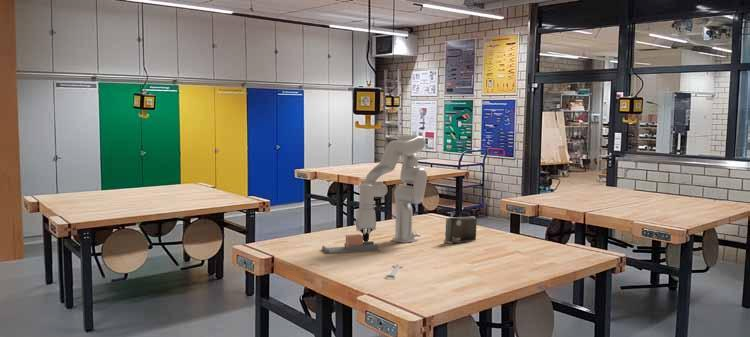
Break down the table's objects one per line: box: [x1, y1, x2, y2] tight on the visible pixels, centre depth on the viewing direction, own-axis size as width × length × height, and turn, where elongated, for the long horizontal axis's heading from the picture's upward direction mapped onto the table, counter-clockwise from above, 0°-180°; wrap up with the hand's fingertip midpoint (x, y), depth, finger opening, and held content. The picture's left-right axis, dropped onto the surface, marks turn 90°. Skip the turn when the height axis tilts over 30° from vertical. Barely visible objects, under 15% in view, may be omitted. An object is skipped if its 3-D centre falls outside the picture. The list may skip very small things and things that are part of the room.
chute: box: [321, 240, 380, 255], centre depth 307 cm, size 28×10×3 cm, turn 110°
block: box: [345, 233, 364, 249], centre depth 308 cm, size 8×5×6 cm, turn 110°
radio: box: [443, 215, 478, 245], centre depth 333 cm, size 23×9×15 cm, turn 121°
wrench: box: [384, 263, 405, 280], centre depth 266 cm, size 25×2×5 cm
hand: (365, 241), depth 310 cm, fingers closed
